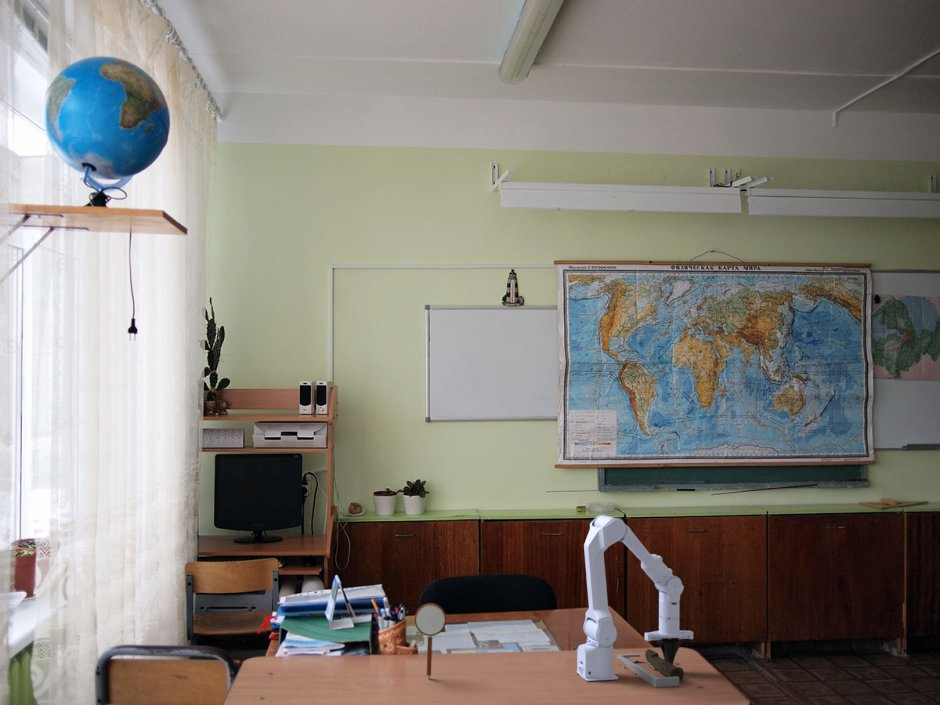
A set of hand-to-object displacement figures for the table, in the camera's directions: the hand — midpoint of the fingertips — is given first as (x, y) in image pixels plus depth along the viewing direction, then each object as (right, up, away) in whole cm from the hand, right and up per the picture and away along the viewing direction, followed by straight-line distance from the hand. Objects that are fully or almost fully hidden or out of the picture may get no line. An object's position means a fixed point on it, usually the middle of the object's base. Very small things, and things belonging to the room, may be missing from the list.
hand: (668, 665), depth 236 cm
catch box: (-6, -2, -2) cm, 7 cm away
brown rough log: (-2, -2, -1) cm, 3 cm away
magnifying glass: (-68, +1, -12) cm, 69 cm away
